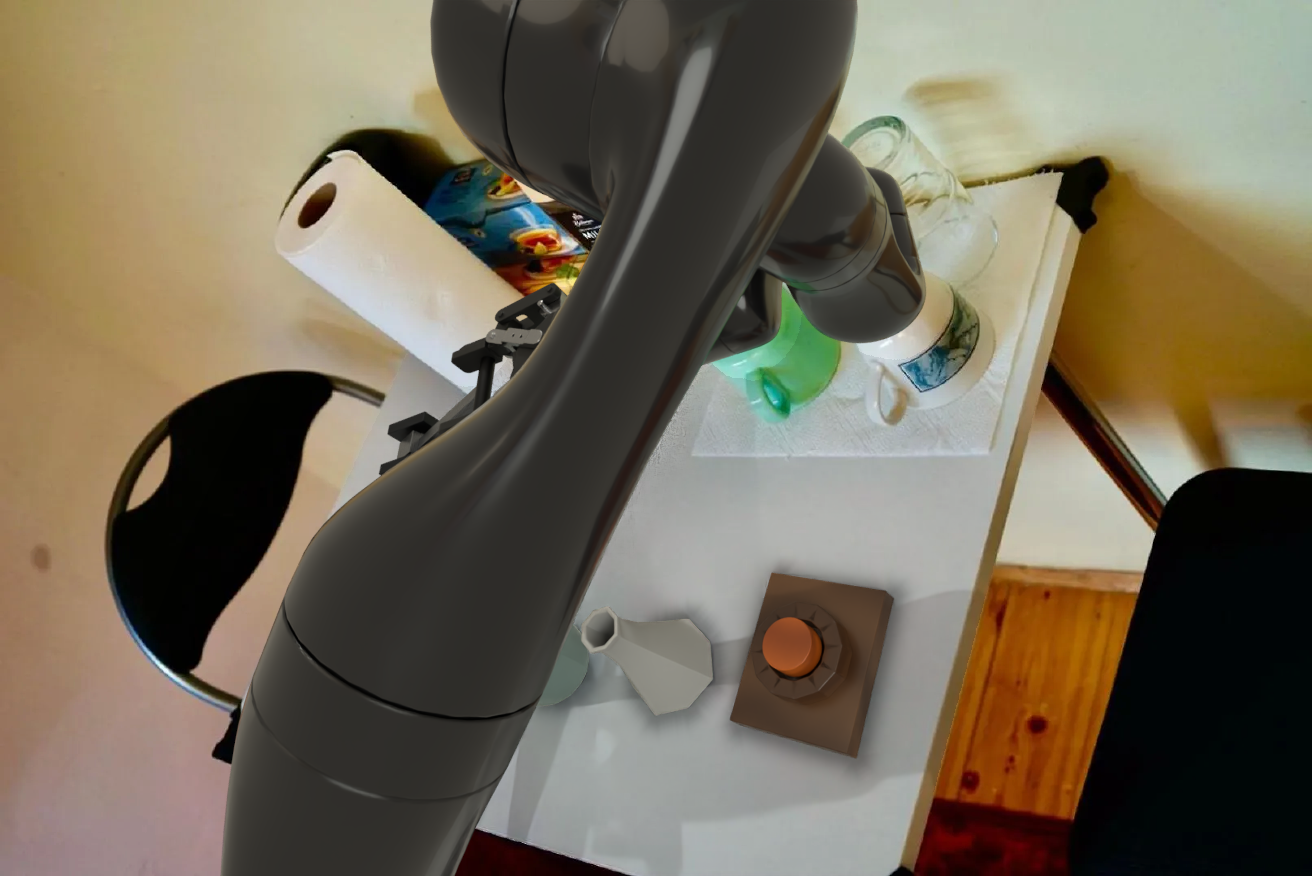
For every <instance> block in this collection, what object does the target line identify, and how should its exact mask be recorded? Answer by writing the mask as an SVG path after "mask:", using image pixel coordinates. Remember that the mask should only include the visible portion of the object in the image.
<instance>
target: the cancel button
mask: <svg viewBox="0 0 1312 876" xmlns="http://www.w3.org/2000/svg"><path fill="white" fill-rule="evenodd" d="M762 648H763V654H764V657H765V659H766V661H767V662H768V663H769V664H770V665H771V666H772V667H773V668H775V669H777V670H778V671H780V672H782V673H783V674H785V675H787V676H791V677H800V676H803V675H806V674H808V673H809V672H811V671H812V670H813V669H814V668H815V667H816V665H817V664H818V662H819V660H820V657H821V653H822V644H821V640H820V637H819V635H818V634H817V632H816V631H815V630H814V629H812V628H811V627H810V626H808V625H807V624H806V623H804V622H803V621H801V620H800V619H797V618H793V617H786V618H782V619H779V620H777V621H776V622H774V623H773V624H772V625H771V626H770V627H769V628H768V630H767V631H766V633H765V636H764V639H763V645H762Z"/></svg>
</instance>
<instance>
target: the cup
mask: <svg viewBox="0 0 1312 876" xmlns="http://www.w3.org/2000/svg"><path fill="white" fill-rule="evenodd" d="M581 635H582V632H581V631H580V630H579V628H578V627H577V626H576V625H575V624H574V623H573V625H572V627H571V629H570V632H569V634H568V636H567V639H566V641H565V643H564V646H563V648H562V650H561V653H560V655H559V657H558V660H557V662H556V664H555V667H554V669H553V671H552V674H551V676H550V678H549V681H548V683H547V685H546V688H545V689H544V691H543V693H542V696H541V698H540V700H539V702H538V704H537V706H536V707H549V706H553V705H557V704H559V703H561V702H563V701H565V700H567V699H568V698H569V697H570V696H572V695H573V694H574V693H575V692H576V691H577V690H578V689H579V688H580V686H581V685H582V683H583V681H584V680H585V678H586V675H587V674H588V673H587V672H588V670H589V665H590V652H589V650H588V649H587V648H586V647H585V645H584V644H583V643H582V641H581Z"/></svg>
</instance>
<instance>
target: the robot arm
mask: <svg viewBox="0 0 1312 876" xmlns="http://www.w3.org/2000/svg"><path fill="white" fill-rule="evenodd" d="M431 6H432V7H431V13H430V21H429V27H430V31H429V33H430V54H431V55H430V56H431V60H432V64H433V69H434V74H435V79H436V84H437V86H438V89H439V92H440V94H441V96H442V99H443V101H444V104H445V107H446V109H447V112H448V113H449V115H450V117H451V118H452V120H453V121H454V123H455V124H456V126H457V127H458V129H459V130H460V132H461V134H462V135H463V137H464V138H465V139H466V140H467V141H468V142H469V143H470V144H471V145H472V146H473V148H475V149H476V150H477V151H478V152H479V153H480V154H481V156H483V158H484V159H486V160H487V161H488V162H489V163H491V165H494V166H495V167H496V168H498V169H499V170H500V171H502V172H503V173H505V174H506V175H507V176H509V177H510V178H512V179H514V180H516V181H517V182H519V183H521V184H522V185H524V186H526V187H527V188H529V189H531V190H533V191H535V192H537V193H539V194H542V195H543V196H546V197H548V198H549V199H551V200H554V201H556V202H558V203H560V204H562V205H563V206H566V207H568V208H570V209H572V210H574V211H576V212H579V213H581V214H583V215H584V216H587V217H589V218H591V219H593V220H595V221H597V222H599V223H601V225H600V227H599V230H598V231H597V235H596V236H595V239H594V241H593V244H592V245H591V248H590V250H589V253H588V256H587V257H586V259H585V261H584V263H583V266H582V268H581V269H580V271H579V273H578V274H577V277H576V279H575V281H574V283H573V285H572V287H571V289H570V291H569V292H568V294H567V293H566V292H565V291H563V290H562V289H561V288H560V286H558V284H556V283H555V282H550V283H548V284H546V285H544V286H543V287H541V288H539V289H537V290H535V291H533V292H531V293H529V294H527V295H525V296H523V297H521V298H520V299H518V300H516V301H514V302H511V303H510V304H508V305H506V306H504V307H502V308H500V309H499V310H498V311H497V312H496V313H495V315H494V320H495V322H497V324H496V326H495V328H492V329H490V330H489V331H488V332H487V334H486V335H485V337H482V338H479V339H477V340H474V341H472V342H469V343H467V344H464V345H463V346H462V347H460V348H459V349H458V350H455V351H453V352H452V353H451V354H452V355H451V360H450V362H451V364H452V365H454V366H455V367H456V368H457V369H459V370H460V371H462V372H463V373H465V374H472V373H475V372H477V371H478V372H479V366H480V360H481V358H482V357H485V356H489V357H492V358H494V359H495V361H496V363H495V365H497V364H499V363H502V362H503V360H504V358H507V359H509V360H511V363H512V371H511V372H510V375H509V380H508V381H506V382H505V383H504V384H503V385H502V386H501V387H499V388H498V389H497V390H495V392H494V393H493V395H491V398H490V399H489V400H488V401H486V402H485V403H484V404H483V405H482V406H480V407H479V408H478V409H476V410H475V411H473V412H472V413H469V414H466V415H464V416H461V417H458V418H455V419H452V420H449V421H446V422H443V423H441V424H440V426H439V432H438V433H439V435H440V436H438V437H437V438H435V439H434V440H432V441H431V442H429V443H428V444H426V445H425V446H423V447H422V448H420V449H419V450H417V451H416V452H414V453H413V454H411V455H410V456H408V457H407V458H405V459H404V460H403V461H401V462H400V463H398V464H397V465H395V466H394V467H392V468H391V469H389V470H388V471H386V472H385V473H384V474H382V475H379V476H378V477H377V478H376V479H374V480H373V481H372V482H369V484H368V485H367V486H365V487H364V488H362V489H361V490H360V491H359V492H357V493H356V494H354V495H353V496H352V497H351V498H350V499H348V500H347V501H346V502H345V503H344V504H343V505H341V506H340V508H338V509H337V510H336V511H335V512H334V513H333V514H332V515H331V516H330V517H329V518H328V519H327V520H326V521H325V522H324V523H323V524H322V525H321V526H320V528H319V529H318V530H317V532H315V534H314V535H313V537H312V538H311V539H310V541H309V542H308V545H307V546H306V548H305V550H304V551H303V553H302V555H301V558H300V560H299V561H298V563H297V564H298V565H297V566H296V569H295V570H294V572H293V575H292V577H291V579H290V582H289V583H288V586H287V587H286V590H285V592H284V595H283V598H282V601H281V603H280V606H279V608H278V611H277V613H276V616H275V618H274V621H273V624H272V626H271V629H270V630H269V634H268V636H267V639H266V642H265V644H264V646H263V649H262V652H261V654H260V656H259V659H258V662H257V665H256V667H255V670H254V672H253V674H252V677H251V681H250V683H249V686H248V689H247V692H246V696H245V698H244V702H243V706H242V709H241V712H240V717H239V720H238V725H237V729H236V730H237V731H236V736H235V741H234V742H235V743H234V745H233V746H234V747H233V754H232V760H231V765H230V771H229V778H228V784H227V785H228V786H227V791H226V792H227V793H226V801H225V812H224V823H223V831H222V833H223V834H222V843H221V844H222V846H221V861H220V876H455V875H456V873H457V870H458V868H459V865H460V864H461V861H462V859H463V856H464V854H465V853H466V850H467V848H468V845H469V844H470V842H471V839H472V837H473V835H474V834H475V833H474V832H475V830H476V829H477V826H478V824H479V823H480V821H481V819H482V817H483V815H484V814H485V811H486V809H487V808H488V805H489V803H490V801H491V799H492V797H493V796H494V794H495V792H496V790H497V788H498V787H499V784H500V783H501V780H502V779H503V777H504V775H505V773H506V771H507V769H508V767H509V765H510V763H511V761H512V759H513V757H514V755H515V753H516V750H518V749H517V748H518V747H519V744H520V742H521V740H522V739H523V736H524V734H525V732H526V730H527V727H528V725H529V724H530V720H531V719H532V717H533V715H534V712H535V710H536V708H537V707H538V706H537V704H538V702H539V700H540V698H541V696H542V693H543V691H544V689H545V688H546V685H547V683H548V681H549V678H550V676H551V674H552V671H553V669H554V667H555V664H556V662H557V660H558V657H559V655H560V653H561V650H562V648H563V646H564V643H565V641H566V639H567V636H568V634H569V632H570V629H571V627H572V625H573V624H574V622H575V620H576V617H577V616H578V613H579V611H580V608H581V606H582V604H583V601H584V599H585V597H586V595H587V592H588V590H589V589H590V586H591V583H592V581H593V579H594V577H595V575H596V573H597V570H598V569H599V566H600V564H601V562H602V560H603V558H604V555H605V553H606V551H607V548H608V546H609V544H610V542H611V540H612V538H613V536H614V533H615V532H616V530H617V528H618V525H619V523H620V521H621V519H622V517H623V515H624V512H625V510H627V509H626V508H627V507H628V504H629V503H630V500H631V499H632V497H633V494H634V492H635V490H636V488H637V486H638V483H639V482H640V481H641V480H640V479H641V477H642V475H643V473H644V471H645V470H646V467H647V466H648V463H649V462H650V460H651V458H652V456H653V454H654V452H655V450H656V449H657V447H658V445H659V443H660V441H661V439H662V437H663V435H664V433H665V431H667V428H668V426H669V424H670V423H671V421H672V419H673V417H674V415H675V414H676V412H677V410H678V409H679V407H680V405H681V403H682V401H683V400H684V397H685V396H686V395H687V392H688V391H689V389H690V388H691V385H692V384H693V382H694V380H695V379H696V377H697V375H698V373H699V371H700V369H702V367H703V366H705V365H708V364H711V363H714V362H717V361H721V360H723V359H727V358H730V357H733V356H736V355H739V354H742V353H745V352H748V351H752V350H755V349H757V348H760V347H763V346H765V345H767V344H769V343H770V342H772V341H773V340H775V338H776V337H777V336H778V334H779V332H780V329H781V325H782V316H783V315H782V314H783V311H782V310H783V307H782V306H783V305H782V303H783V284H785V286H786V287H787V289H788V291H789V293H790V295H791V297H792V298H793V300H794V302H795V304H796V305H797V306H798V308H799V309H800V311H801V312H802V314H803V315H804V317H805V318H806V320H807V321H808V323H809V324H810V325H811V326H812V327H813V328H814V329H815V330H816V331H818V332H819V333H820V334H821V335H823V336H825V337H827V338H829V339H832V340H835V341H838V342H843V343H849V344H870V343H871V344H872V343H875V342H880V341H884V340H887V339H889V338H891V337H894V336H896V335H898V334H899V333H901V332H902V331H904V330H905V329H907V328H908V327H909V326H910V325H912V324H913V322H914V321H915V320H916V319H917V318H918V317H919V315H920V313H921V312H922V310H923V308H924V306H925V303H926V299H927V283H926V277H925V274H924V270H923V266H922V261H921V260H920V254H919V251H918V247H917V244H916V240H915V237H914V232H913V228H912V225H911V221H910V218H909V213H908V210H907V205H906V202H905V197H904V194H903V191H902V189H901V187H900V185H899V182H898V181H897V179H895V177H894V176H893V175H891V174H890V173H888V172H887V171H885V170H883V169H880V168H877V167H872V166H865V165H863V163H862V162H861V161H860V159H859V158H858V157H857V155H856V154H855V153H854V152H853V151H852V150H851V149H850V148H849V147H847V146H846V145H845V144H844V143H843V142H841V140H839V139H838V138H837V137H835V136H834V135H833V134H832V133H830V132H829V131H830V129H831V126H832V124H833V121H834V118H835V116H836V113H837V110H838V108H839V105H840V103H841V99H842V97H843V93H844V90H845V87H846V83H847V81H848V77H849V74H850V70H851V65H852V61H853V57H854V52H855V44H856V36H857V30H858V20H859V11H858V10H859V9H858V7H859V6H858V0H432V5H431ZM520 316H526V317H524V318H523V319H521V320H519V319H518V318H519V317H520Z"/></svg>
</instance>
